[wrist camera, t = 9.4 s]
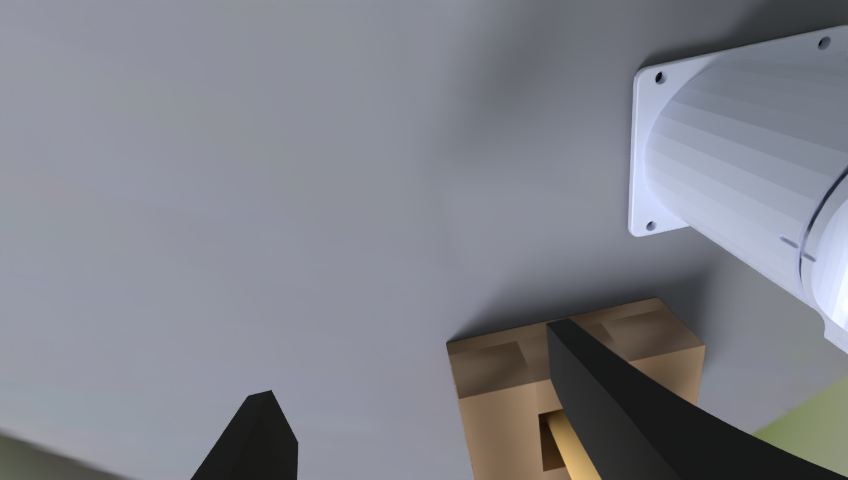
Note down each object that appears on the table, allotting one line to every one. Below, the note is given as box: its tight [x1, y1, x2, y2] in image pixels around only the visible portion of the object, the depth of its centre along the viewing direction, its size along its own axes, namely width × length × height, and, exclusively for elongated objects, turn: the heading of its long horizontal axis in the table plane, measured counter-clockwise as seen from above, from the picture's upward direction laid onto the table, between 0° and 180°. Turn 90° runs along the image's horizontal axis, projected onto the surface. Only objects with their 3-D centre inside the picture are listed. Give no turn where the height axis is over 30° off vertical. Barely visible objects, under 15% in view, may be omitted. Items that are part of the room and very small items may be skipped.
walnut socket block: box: [446, 297, 706, 480], centre depth 25 cm, size 12×9×4 cm
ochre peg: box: [544, 409, 602, 480], centre depth 22 cm, size 3×3×8 cm
